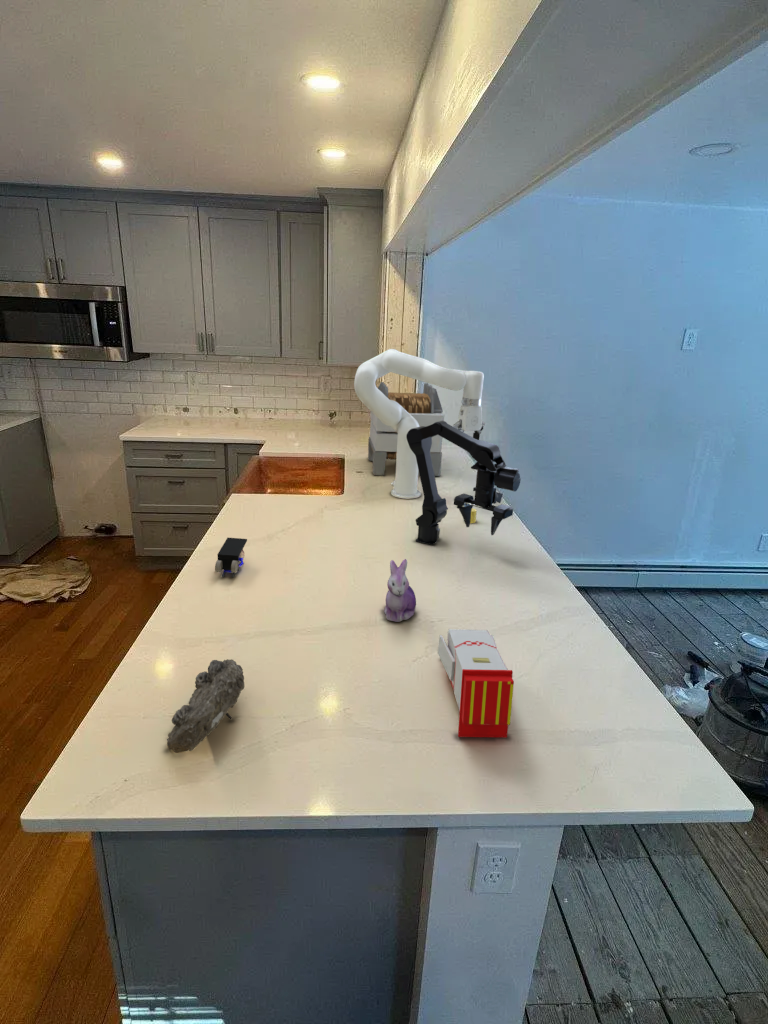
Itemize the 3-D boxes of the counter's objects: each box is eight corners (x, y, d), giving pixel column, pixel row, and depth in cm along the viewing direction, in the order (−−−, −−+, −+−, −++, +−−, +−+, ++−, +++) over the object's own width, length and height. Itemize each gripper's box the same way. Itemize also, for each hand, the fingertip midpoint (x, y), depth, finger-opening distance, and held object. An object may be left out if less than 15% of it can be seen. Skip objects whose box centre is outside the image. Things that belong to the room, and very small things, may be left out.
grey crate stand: (367, 457, 298) (369, 379, 284) (428, 458, 302) (433, 380, 288) (373, 475, 266) (376, 388, 253) (441, 476, 270) (448, 390, 256)
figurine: (392, 627, 141) (395, 572, 136) (374, 608, 149) (376, 556, 144) (425, 619, 145) (429, 566, 140) (405, 601, 154) (408, 550, 149)
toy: (488, 613, 130) (523, 677, 101) (484, 667, 133) (517, 744, 104) (435, 612, 130) (455, 676, 101) (432, 666, 133) (451, 743, 103)
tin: (464, 522, 214) (465, 510, 212) (466, 519, 217) (467, 507, 215) (474, 523, 213) (475, 512, 211) (476, 520, 216) (477, 509, 214)
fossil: (192, 660, 117) (244, 628, 112) (224, 691, 120) (276, 661, 115) (142, 746, 98) (202, 712, 93) (182, 779, 101) (242, 748, 96)
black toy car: (238, 584, 162) (249, 557, 175) (236, 562, 158) (247, 536, 172) (215, 584, 161) (227, 556, 175) (212, 561, 158) (225, 535, 171)
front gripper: (524, 486, 177) (518, 532, 182) (473, 473, 188) (469, 517, 194) (506, 493, 169) (500, 541, 174) (454, 479, 180) (450, 525, 186)
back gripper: (462, 405, 222) (458, 447, 227) (493, 402, 231) (488, 443, 237) (449, 401, 227) (445, 443, 233) (480, 400, 237) (475, 440, 243)
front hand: (480, 530), depth 182 cm, fingers open, 9 cm apart
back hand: (467, 443), depth 235 cm, fingers open, 9 cm apart
